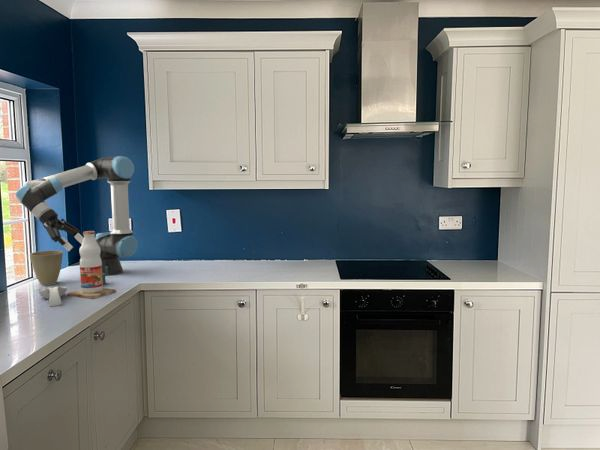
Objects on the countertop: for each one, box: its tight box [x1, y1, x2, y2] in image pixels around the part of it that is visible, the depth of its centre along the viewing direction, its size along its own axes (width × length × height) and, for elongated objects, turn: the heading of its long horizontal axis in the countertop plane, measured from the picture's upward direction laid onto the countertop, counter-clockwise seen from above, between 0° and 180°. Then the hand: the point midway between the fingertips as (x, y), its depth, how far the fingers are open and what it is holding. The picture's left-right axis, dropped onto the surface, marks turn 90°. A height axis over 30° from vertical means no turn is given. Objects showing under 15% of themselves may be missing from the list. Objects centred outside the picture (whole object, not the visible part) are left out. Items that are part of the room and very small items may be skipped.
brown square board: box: [67, 287, 117, 300], centre depth 224 cm, size 14×15×1 cm
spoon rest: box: [37, 285, 68, 307], centre depth 214 cm, size 24×12×7 cm, turn 31°
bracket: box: [102, 266, 109, 286], centre depth 242 cm, size 9×9×9 cm
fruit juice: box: [78, 230, 104, 293], centre depth 223 cm, size 9×9×28 cm
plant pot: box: [29, 250, 63, 286], centre depth 245 cm, size 15×15×16 cm
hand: (78, 246), depth 222 cm, fingers open, 13 cm apart
